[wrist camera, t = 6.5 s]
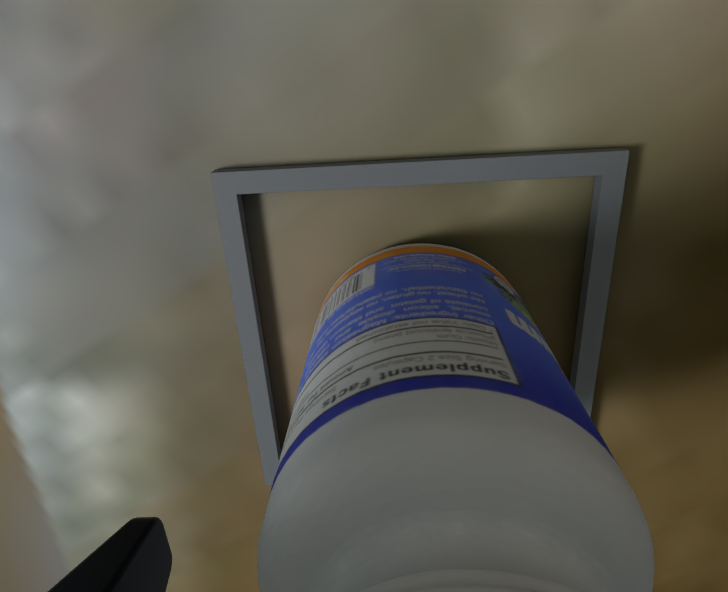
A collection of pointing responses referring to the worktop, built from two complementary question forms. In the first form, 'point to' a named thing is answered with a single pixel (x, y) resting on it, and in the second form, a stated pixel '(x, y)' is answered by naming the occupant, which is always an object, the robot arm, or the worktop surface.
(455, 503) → the pill bottle
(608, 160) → the game board
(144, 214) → the worktop surface
